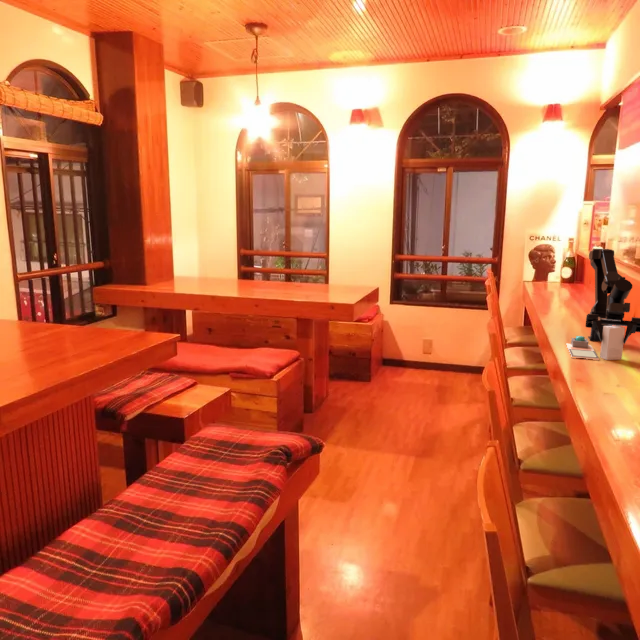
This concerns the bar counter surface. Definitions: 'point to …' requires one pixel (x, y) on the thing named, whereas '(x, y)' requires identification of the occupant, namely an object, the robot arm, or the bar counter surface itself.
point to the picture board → (581, 349)
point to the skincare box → (612, 342)
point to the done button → (580, 338)
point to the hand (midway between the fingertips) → (612, 341)
